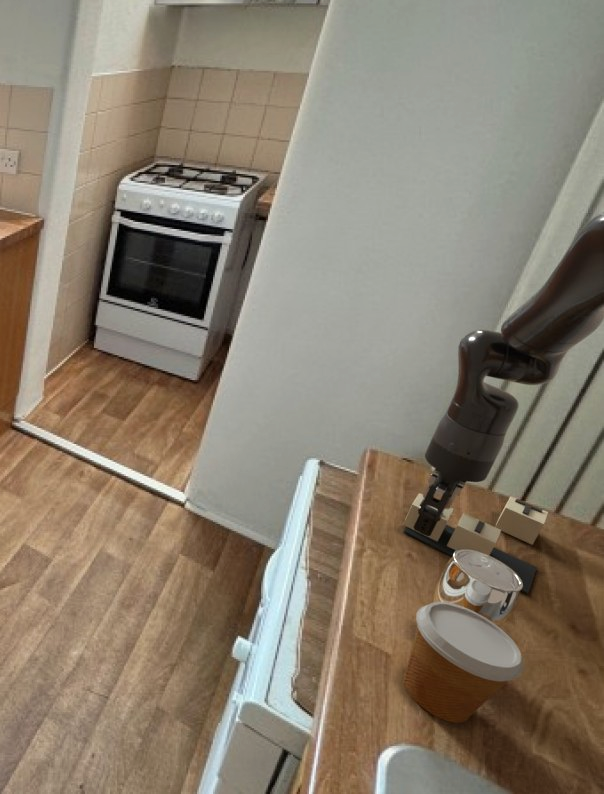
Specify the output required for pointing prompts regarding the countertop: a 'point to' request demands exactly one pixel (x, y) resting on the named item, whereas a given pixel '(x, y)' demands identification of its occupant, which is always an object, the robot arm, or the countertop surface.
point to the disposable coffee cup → (458, 661)
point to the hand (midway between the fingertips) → (428, 520)
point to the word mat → (517, 565)
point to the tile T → (521, 520)
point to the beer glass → (479, 585)
